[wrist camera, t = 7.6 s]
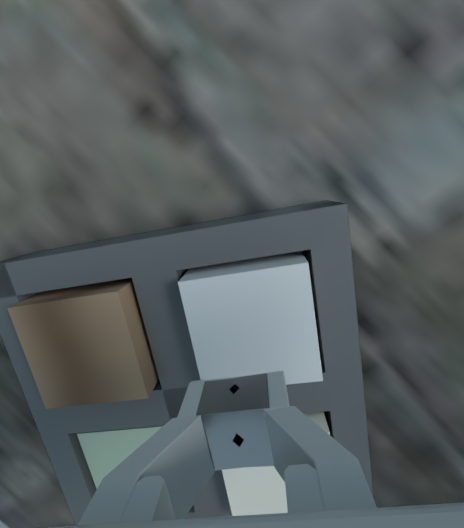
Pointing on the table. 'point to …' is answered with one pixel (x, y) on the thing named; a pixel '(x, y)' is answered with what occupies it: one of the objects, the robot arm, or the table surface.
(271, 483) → the cream key
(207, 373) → the grey key
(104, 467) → the sage key
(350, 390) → the keypad
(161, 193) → the table surface
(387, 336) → the table surface
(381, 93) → the table surface
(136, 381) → the walnut key
